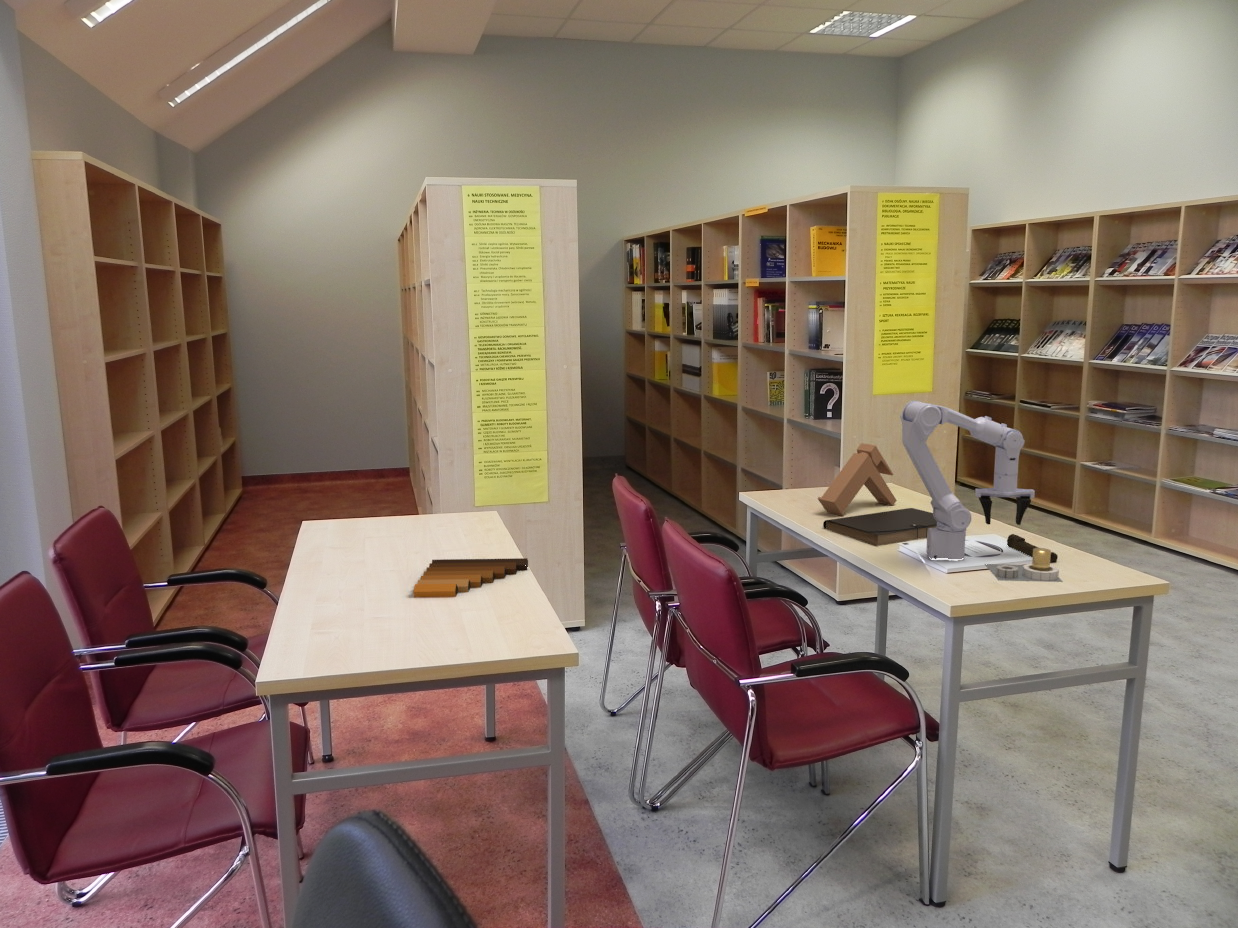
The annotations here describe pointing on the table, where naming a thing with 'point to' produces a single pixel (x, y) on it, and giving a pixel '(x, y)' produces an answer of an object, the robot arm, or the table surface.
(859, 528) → the dark brown book
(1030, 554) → the brown wooden stick
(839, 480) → the wooden a-frame
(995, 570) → the fitting board
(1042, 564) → the round peg
